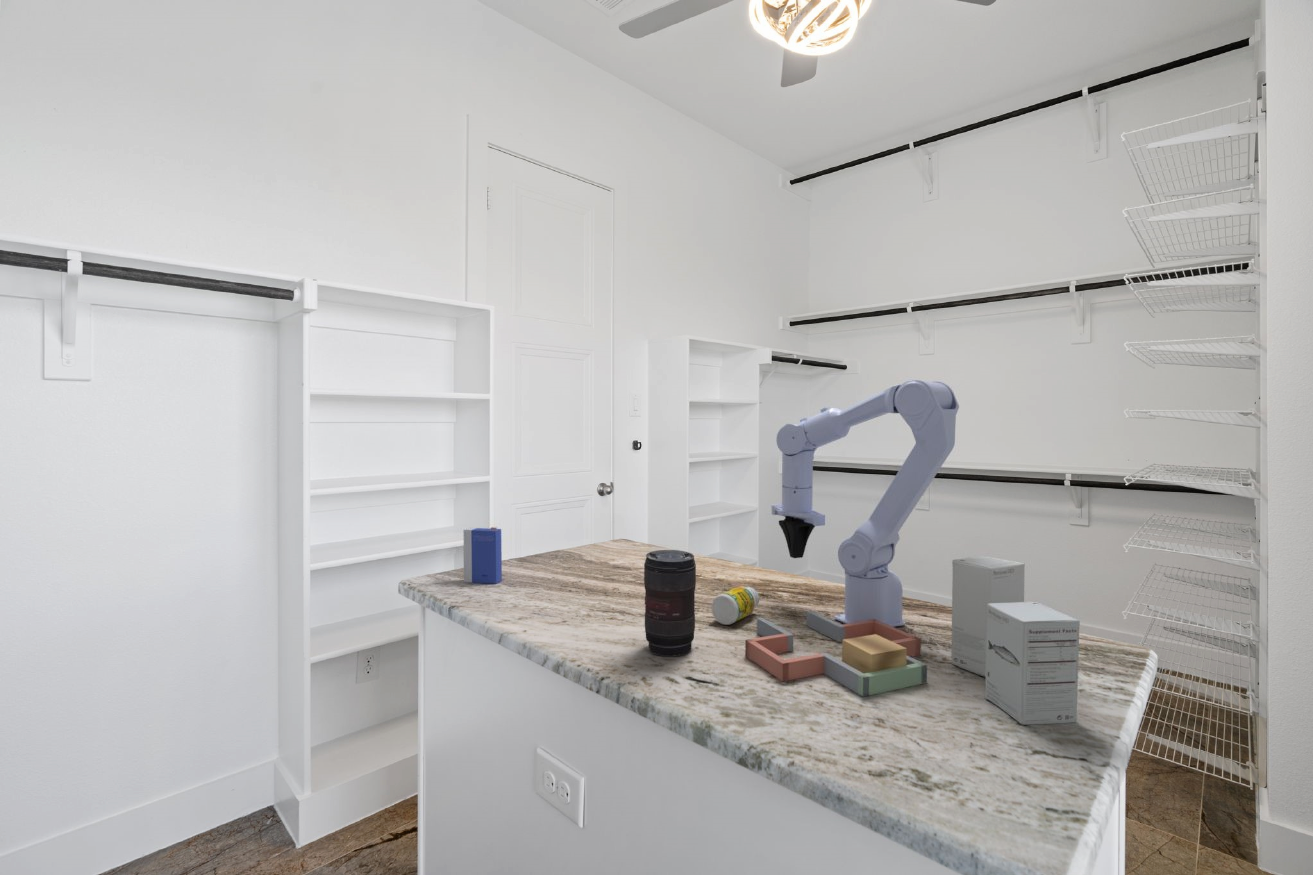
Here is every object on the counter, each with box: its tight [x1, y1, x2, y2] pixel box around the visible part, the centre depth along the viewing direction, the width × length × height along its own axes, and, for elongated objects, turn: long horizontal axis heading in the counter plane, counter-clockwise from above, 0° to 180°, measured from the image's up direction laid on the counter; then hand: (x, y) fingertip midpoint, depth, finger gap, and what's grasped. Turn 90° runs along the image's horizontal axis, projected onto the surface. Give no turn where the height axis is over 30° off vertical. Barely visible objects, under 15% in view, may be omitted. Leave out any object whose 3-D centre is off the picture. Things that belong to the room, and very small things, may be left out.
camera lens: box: [643, 549, 697, 657], centre depth 98 cm, size 8×8×15 cm
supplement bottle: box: [710, 586, 760, 626], centre depth 114 cm, size 5×5×10 cm
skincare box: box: [950, 555, 1025, 678], centre depth 92 cm, size 8×7×16 cm
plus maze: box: [744, 610, 928, 697], centre depth 96 cm, size 25×26×2 cm
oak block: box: [841, 634, 907, 674], centre depth 88 cm, size 6×6×5 cm
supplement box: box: [984, 601, 1081, 726], centre depth 78 cm, size 7×7×13 cm
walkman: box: [462, 526, 503, 585], centre depth 139 cm, size 8×3×12 cm, turn 78°
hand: (796, 557), depth 121 cm, fingers closed
